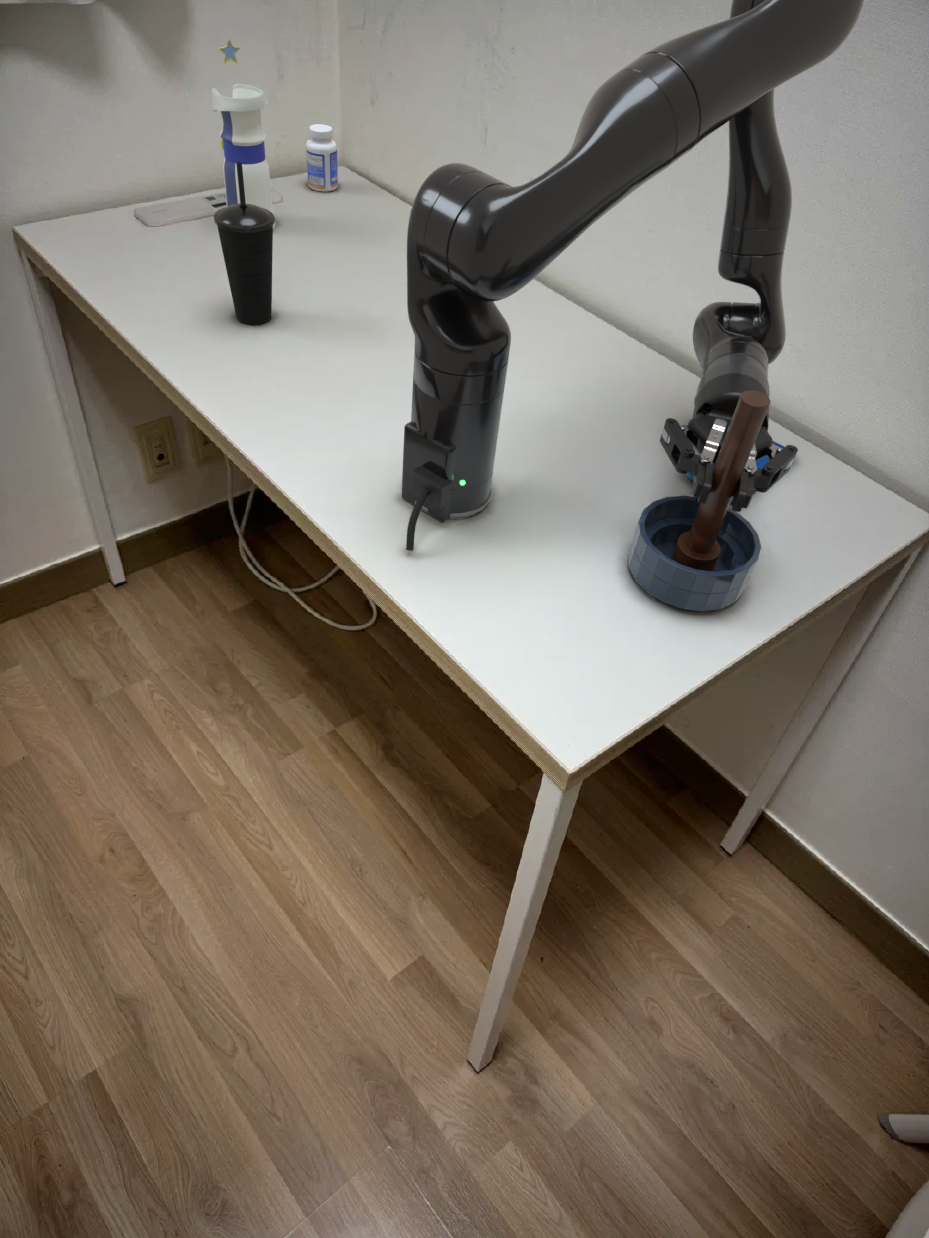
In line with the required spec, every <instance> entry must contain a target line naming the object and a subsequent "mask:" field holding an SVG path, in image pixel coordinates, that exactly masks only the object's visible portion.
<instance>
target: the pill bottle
mask: <svg viewBox="0 0 929 1238" xmlns="http://www.w3.org/2000/svg"><path fill="white" fill-rule="evenodd" d="M308 130H309V131H308V135H309V137H310V138H309V139H308V140H306V143H305V150H306V153H305V154H306V172H307V185H308V188H309V189H311V190H312V191H315V192H333V191H335V190H336V189H338V185H339V175H338V174H339V172H338V171H339V168H338V145H337V143H336V141H334V140H333V136H334V135H333V134H334V131H333V127H332V126H330V125H328V124H324V123H323V124H322V123H316V124H314V123H313V124H311V125H310V126H309V129H308Z"/></svg>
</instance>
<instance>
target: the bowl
mask: <svg viewBox="0 0 929 1238" xmlns="http://www.w3.org/2000/svg"><path fill="white" fill-rule="evenodd" d="M700 504H701V503H698V497H695V496H693V495H686V494H685V495H682V494H681V495H673V496H672V495H671V496H665V497H663V498H659V499H657V500H654V501H652V502H651V503H650V504H649V505H647V506H646V507H645V508H644V509H643V510H642V512H641V514H640V516H639V519H638V522H637V525H636V528H635V532H634V534H633V538H632V541H631V544H630V548H629V551H628V554H627V560H628V569H629V571H630V573H631V574H632V577H633V578H634V581H636V583H637V584H638V585H639V586H640V587H641V588H642V589H643V590H644V591H645V592H646V593H647V594H649V595H650V596H652V597H653V598H656V599H657V600H658V601H660V602H662V603H664V604H666V605H669V606H673V607H675V608H679V609H682V610H687V611H695V612H708V611H717V610H718V611H719V610H722V609H723V608H726V607H728V606H730V605H733V604H734V603H735V602H736V601H738V599H739V598H740V597H741V596H742V595H743V593H744V592H745V589H746V587H747V584H748V583H749V580H750V578H751V576H752V574H753V572H754V570H755V567H756V565H757V563H758V561H759V559H760V554H761V550H762V544H761V541H760V537H759V533H758V532H757V530H755V528H754V526H753V525H752V524H751V522H749V521H748V519H746V518H745V517H744V516H743V515H741V514H740V512H736V511H732V507H729V508H728V510H727V513H726V515H725V518H724V520H723V523H722V525H721V528H720V530H719V533H718V535H717V538H716V541H717V542H718V543H719V545H720V548H721V552H720V555H719V557H718V560H717V562H716V565H715V567H714V570H713V572H712V571H704V570H697V569H693V568H690V567H687V566H684V565H681V564H679V563H677V562H675V561H673V560H672V559H671V557H672V554H673V552H674V549H675V546H676V543H677V540H678V538H679V536H680V535H682V534H683V533H685V532H689V531H691V528H692V526H693V523H694V520H695V518H696V515H697V512H698V509H699V507H700Z"/></svg>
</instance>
